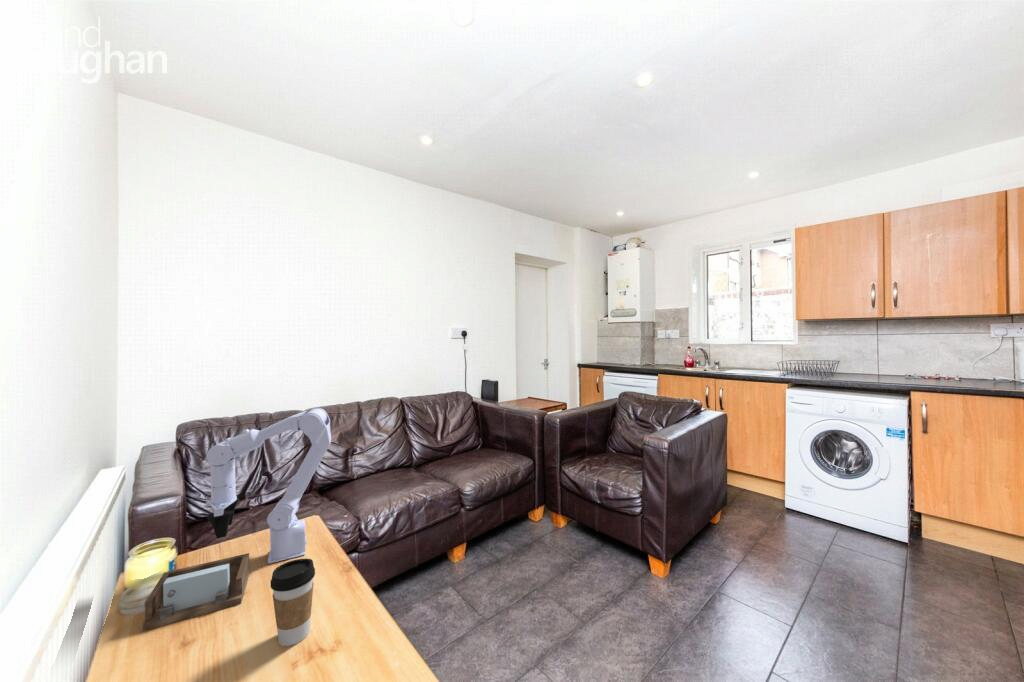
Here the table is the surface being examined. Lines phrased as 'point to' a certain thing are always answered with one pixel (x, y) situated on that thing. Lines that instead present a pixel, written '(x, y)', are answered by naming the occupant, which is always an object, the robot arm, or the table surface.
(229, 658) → the table surface
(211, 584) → the door
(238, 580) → the cabinet
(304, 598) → the coffee cup
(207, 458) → the robot arm
